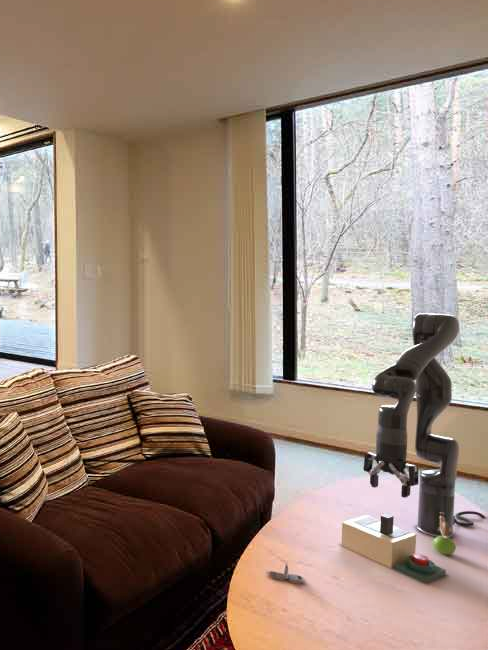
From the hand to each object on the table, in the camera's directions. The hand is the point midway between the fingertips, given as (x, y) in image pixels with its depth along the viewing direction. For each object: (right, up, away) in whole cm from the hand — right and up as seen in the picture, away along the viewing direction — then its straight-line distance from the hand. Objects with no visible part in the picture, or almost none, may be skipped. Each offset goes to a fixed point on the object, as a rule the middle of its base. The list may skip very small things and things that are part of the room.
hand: (389, 491), depth 165 cm
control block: (+5, -22, -6) cm, 23 cm away
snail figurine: (+21, -21, +5) cm, 30 cm away
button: (+5, -19, -6) cm, 20 cm away
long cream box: (+1, -21, +6) cm, 22 cm away
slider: (0, -14, +1) cm, 14 cm away
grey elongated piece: (-36, -23, -8) cm, 43 cm away
